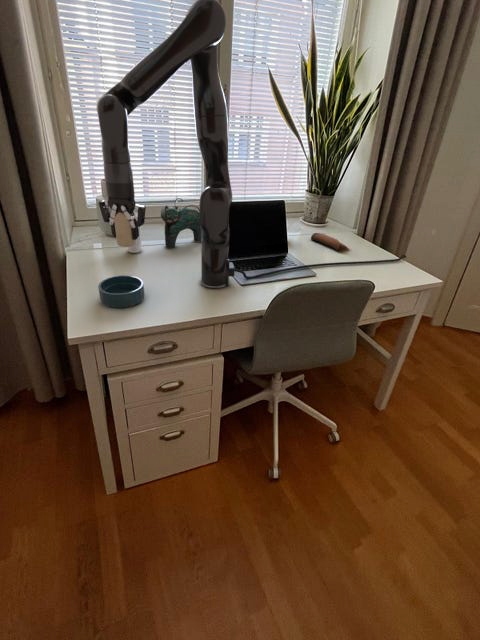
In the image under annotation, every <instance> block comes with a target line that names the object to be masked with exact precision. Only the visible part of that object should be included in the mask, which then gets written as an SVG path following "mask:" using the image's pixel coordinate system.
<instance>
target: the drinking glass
mask: <svg viewBox="0 0 480 640" xmlns="http://www.w3.org/2000/svg"><path fill="white" fill-rule="evenodd" d="M135 215H136V219H137V216H138V212H135ZM138 229H139V237H138V238H137V239H136V244H135V245H134V246H130V247H127V251H128V252H129V253H131V254H138V253H141V252H142V251H143V248H142V226H140V227H138Z"/></svg>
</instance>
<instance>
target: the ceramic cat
mask: <svg viewBox="0 0 480 640" xmlns="http://www.w3.org/2000/svg"><path fill="white" fill-rule="evenodd" d="M178 200H180V201H182V202H184V200H183V199H182V198H180V197H178V198H176V199H174V203H176V202H177V201H178ZM193 207H194V208H193ZM195 208H197V209H198V210H197V209H195ZM160 218H161V220H162V221H163V222H164V243H165V247H166V248H168V249H173V248H176V242H177V239H178V236H179V235H180V232H183V231H184V230H190V231H191V232H192V235H193V241H194V242H195V243H201V228H200V210H199V206H197V205H195V204H190V205H189V204H188V205H186V206H184V207H180V208H179V206H176V205H174V207H173V206H170V205H167V204H166V205H165V206H164V207H162V208H161V210H160Z"/></svg>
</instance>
